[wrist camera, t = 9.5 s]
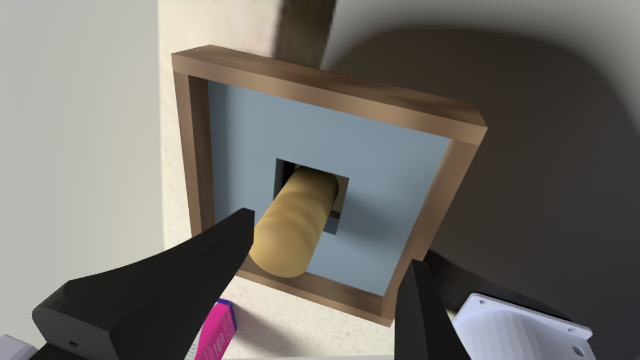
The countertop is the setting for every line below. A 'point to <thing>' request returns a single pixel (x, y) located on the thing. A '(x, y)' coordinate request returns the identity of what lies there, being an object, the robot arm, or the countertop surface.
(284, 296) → the countertop surface
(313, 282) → the tray
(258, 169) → the bore plate
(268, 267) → the peg
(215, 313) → the supplement box
